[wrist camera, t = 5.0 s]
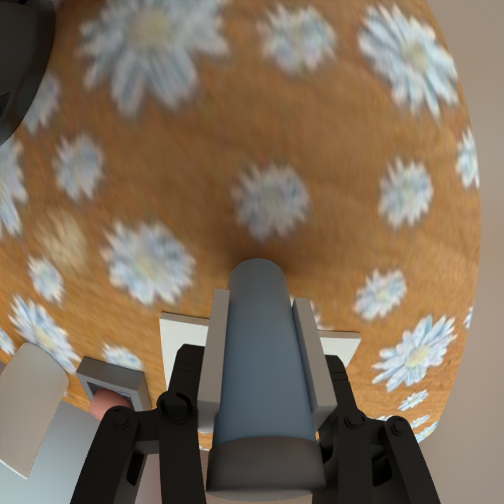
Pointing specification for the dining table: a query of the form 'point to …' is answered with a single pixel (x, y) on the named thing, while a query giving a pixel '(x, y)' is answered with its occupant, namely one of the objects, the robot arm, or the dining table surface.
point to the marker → (262, 396)
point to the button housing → (114, 382)
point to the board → (195, 333)
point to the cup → (28, 405)
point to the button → (106, 402)
